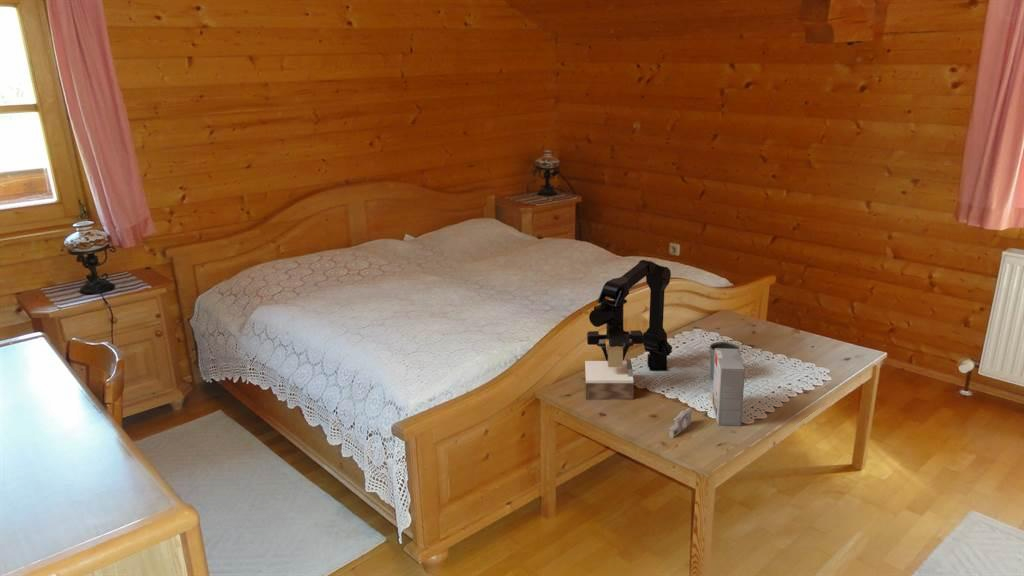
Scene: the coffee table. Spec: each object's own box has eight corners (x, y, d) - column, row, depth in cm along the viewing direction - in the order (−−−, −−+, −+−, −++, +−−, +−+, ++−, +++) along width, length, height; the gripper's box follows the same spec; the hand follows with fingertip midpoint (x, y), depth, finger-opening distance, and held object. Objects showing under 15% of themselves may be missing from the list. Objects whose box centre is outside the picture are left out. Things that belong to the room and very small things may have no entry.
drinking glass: (711, 384, 250) (713, 353, 246) (705, 372, 260) (706, 341, 256) (740, 383, 250) (743, 352, 246) (733, 371, 259) (735, 341, 256)
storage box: (629, 378, 257) (630, 363, 255) (633, 399, 242) (633, 383, 240) (585, 378, 258) (585, 363, 257) (585, 399, 243) (585, 383, 241)
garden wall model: (673, 438, 217) (673, 421, 215) (668, 437, 218) (668, 419, 216) (692, 423, 225) (692, 406, 224) (687, 421, 227) (687, 404, 225)
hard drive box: (711, 402, 238) (714, 347, 231) (735, 403, 236) (739, 348, 230) (716, 425, 223) (720, 367, 217) (742, 426, 222) (746, 368, 216)
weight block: (621, 360, 247) (621, 344, 245) (622, 366, 242) (622, 350, 240) (607, 360, 247) (607, 345, 245) (608, 367, 242) (608, 350, 240)
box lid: (630, 363, 255) (630, 355, 254) (633, 383, 240) (633, 375, 239) (585, 363, 256) (585, 355, 256) (585, 383, 241) (585, 375, 240)
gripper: (587, 327, 232) (588, 371, 237) (645, 326, 231) (645, 370, 236) (586, 315, 243) (587, 357, 248) (641, 314, 241) (641, 356, 246)
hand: (614, 360), depth 244 cm, fingers closed on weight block, 5 cm apart
